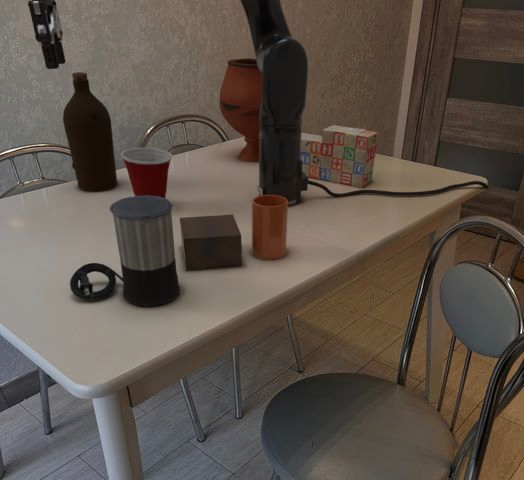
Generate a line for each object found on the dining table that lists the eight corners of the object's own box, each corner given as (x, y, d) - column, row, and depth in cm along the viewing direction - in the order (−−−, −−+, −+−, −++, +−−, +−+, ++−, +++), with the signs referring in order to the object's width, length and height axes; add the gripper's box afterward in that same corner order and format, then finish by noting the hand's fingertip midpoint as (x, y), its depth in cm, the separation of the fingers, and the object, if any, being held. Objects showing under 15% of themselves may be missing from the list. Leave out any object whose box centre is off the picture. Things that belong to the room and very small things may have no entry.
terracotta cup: (281, 244, 104) (283, 193, 98) (289, 258, 99) (291, 205, 93) (249, 246, 103) (249, 195, 97) (255, 260, 98) (255, 207, 92)
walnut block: (233, 244, 104) (232, 214, 100) (241, 266, 96) (241, 234, 92) (182, 247, 102) (179, 217, 99) (186, 270, 94) (183, 238, 91)
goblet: (301, 157, 155) (305, 60, 141) (255, 171, 143) (255, 67, 129) (254, 145, 166) (254, 54, 151) (207, 157, 154) (203, 59, 140)
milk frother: (191, 297, 86) (184, 208, 78) (97, 326, 79) (78, 231, 70) (152, 265, 96) (142, 183, 87) (65, 289, 88) (45, 201, 80)
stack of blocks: (288, 173, 142) (290, 124, 135) (299, 168, 146) (302, 120, 139) (362, 188, 132) (368, 136, 125) (372, 181, 137) (378, 131, 130)
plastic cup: (167, 218, 115) (161, 161, 108) (120, 214, 116) (112, 157, 109) (183, 201, 123) (179, 147, 116) (139, 197, 125) (132, 144, 118)
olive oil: (128, 182, 135) (113, 71, 120) (103, 194, 126) (84, 78, 112) (93, 177, 138) (74, 68, 124) (66, 189, 130) (43, 74, 115)
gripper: (49, -44, 86) (72, 69, 95) (61, -39, 97) (81, 61, 107) (0, -42, 85) (28, 71, 94) (19, -38, 97) (42, 63, 106)
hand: (56, 66), depth 100 cm, fingers open, 8 cm apart
